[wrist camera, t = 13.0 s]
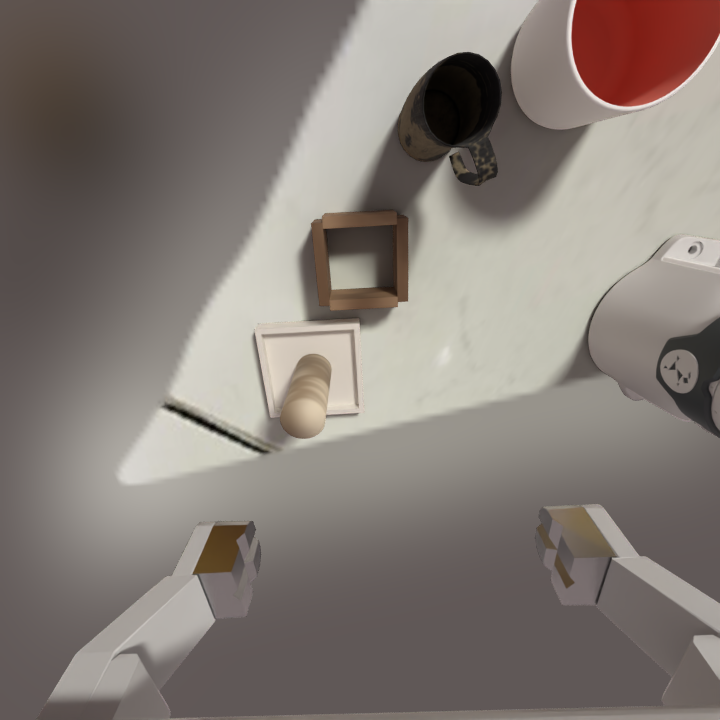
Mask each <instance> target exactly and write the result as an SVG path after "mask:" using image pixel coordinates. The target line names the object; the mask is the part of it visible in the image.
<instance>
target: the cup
mask: <svg viewBox="0 0 720 720" xmlns="http://www.w3.org/2000/svg"><path fill="white" fill-rule="evenodd" d="M719 41H720V0H539V1H538V2H537V3H536V5H535V6H534V7H533V9H532V10H531V11H530V13H529V14H528V16H527V18H526V19H525V21H524V23H523V25H522V27H521V29H520V31H519V34H518V36H517V39H516V42H515V46H514V50H513V55H512V62H511V81H512V87H513V91H514V95H515V97H516V100H517V102H518V104H519V106H520V108H521V109H522V111H523V112H524V113H525V114H526V115H527V117H528V118H530V119H531V120H532V121H533V122H535V123H537V124H538V125H541V126H543V127H546V128H550V129H556V130H563V129H571V128H575V127H579V126H583V125H587V124H590V123H594V122H598V121H602V120H606V119H610V118H614V117H618V116H622V115H625V114H629V113H633V112H637V111H641V110H645V109H648V108H651V107H653V106H655V105H657V104H659V103H661V102H663V101H665V100H667V99H668V98H670V97H671V96H673V95H674V94H676V93H677V92H678V91H680V90H681V89H682V88H683V87H684V86H686V85H687V84H688V83H689V82H690V81H691V80H692V79H693V78H694V77H695V75H696V74H697V73H698V72H699V71H700V70H701V69H702V67H703V66H704V65H705V63H706V62H707V61H708V59H709V58H710V56H711V55H712V53H713V52H714V50H715V48H716V47H717V45H718V43H719Z"/></svg>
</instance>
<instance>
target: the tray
mask: <svg viewBox="0 0 720 720" xmlns="http://www.w3.org/2000/svg"><path fill="white" fill-rule="evenodd" d="M254 330H255V336H256V341H257V347H258V352H259V358H260V363H261V369H262V374H263V380H264V385H265V391H266V396H267V402H268V407H269V413H270V418H276V417H280V415H281V412H282V408H283V405H284V402H285V399H286V396H287V393H288V390H289V387H290V384H291V381H292V378H293V375H294V372H295V369H296V366H297V363H298V361H299V360H300V359H301V358H302V357H303V356H305V355H308V354H318V355H321V356H323V357H325V358H326V359H327V360H328V361H329V363H330V365H331V368H332V373H331V381H330V388H329V396H328V404H327V412H326V415H331V414H349V413H364V395H363V377H362V359H361V340H360V322H359V318H350V319H332V320H314V321H296V322H278V323H260V324H258V325H257V326H256V328H255V329H254Z"/></svg>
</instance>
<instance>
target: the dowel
mask: <svg viewBox="0 0 720 720" xmlns="http://www.w3.org/2000/svg"><path fill="white" fill-rule="evenodd" d="M331 373H332V368H331V365H330V363H329V361H328V360H327V359H326V358H325V357H323V356H321V355H318V354H308V355H305V356H303V357H302V358H301V359H300V360H299V361H298V363H297V366H296V369H295V372H294V375H293V378H292V381H291V384H290V387H289V390H288V393H287V396H286V399H285V402H284V405H283V408H282V412H281V415H280V422H281V425H282V427H283V429H284V430H285V431H286V432H287V433H288V434H290V435H291V436H293V437H296V438H302V439H306V438H311V437H314V436H316V435H318V434H319V433H320V432H321V431H322V430H323V428H324V425H325V419H326V412H327V404H328V396H329V388H330V381H331Z"/></svg>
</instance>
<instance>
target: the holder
mask: <svg viewBox="0 0 720 720" xmlns="http://www.w3.org/2000/svg"><path fill="white" fill-rule="evenodd" d="M382 225H392V227H393V287H375V288H358V289H340V290H331V278H330V267H329V255H328V243H327V231H326V229H329V228H346V227H364V226H382ZM311 227H312V237H313V247H314V257H315V267H316V277H317V287H318V297H319V306H330V311H334V310H352V309H370V308H388V307H398V302H405V301H408V217H406V216H404V215H397V212H395V211H394V210H378V211H360V212H343V213H325V214H324V215H323V216H322V219H317V220H314V221H313V222H312V223H311Z"/></svg>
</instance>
